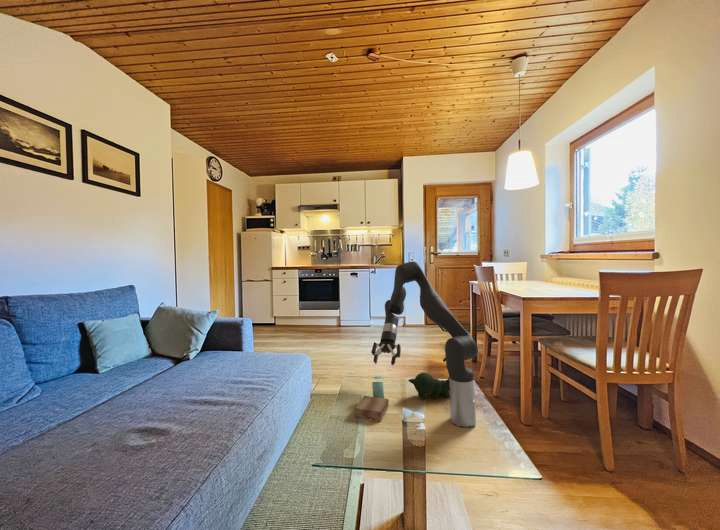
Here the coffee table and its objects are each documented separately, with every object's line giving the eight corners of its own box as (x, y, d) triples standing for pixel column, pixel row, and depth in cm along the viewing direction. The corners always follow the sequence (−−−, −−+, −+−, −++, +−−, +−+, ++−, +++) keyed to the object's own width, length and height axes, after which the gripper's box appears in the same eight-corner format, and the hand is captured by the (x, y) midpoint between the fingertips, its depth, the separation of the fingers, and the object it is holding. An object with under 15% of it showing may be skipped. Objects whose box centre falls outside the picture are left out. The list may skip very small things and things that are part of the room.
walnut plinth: (388, 408, 133) (388, 399, 133) (381, 421, 123) (380, 411, 123) (365, 404, 137) (364, 395, 137) (355, 417, 127) (355, 408, 127)
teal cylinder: (385, 398, 142) (384, 377, 142) (382, 403, 138) (381, 381, 137) (375, 396, 144) (374, 375, 144) (371, 402, 139) (370, 380, 139)
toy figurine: (453, 391, 149) (404, 393, 144) (455, 352, 148) (405, 353, 144) (463, 400, 139) (411, 403, 135) (465, 359, 139) (412, 360, 134)
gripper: (374, 329, 159) (367, 359, 149) (401, 330, 154) (396, 361, 144) (378, 336, 165) (371, 365, 154) (404, 338, 159) (399, 368, 149)
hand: (383, 363), depth 149 cm, fingers open, 8 cm apart
